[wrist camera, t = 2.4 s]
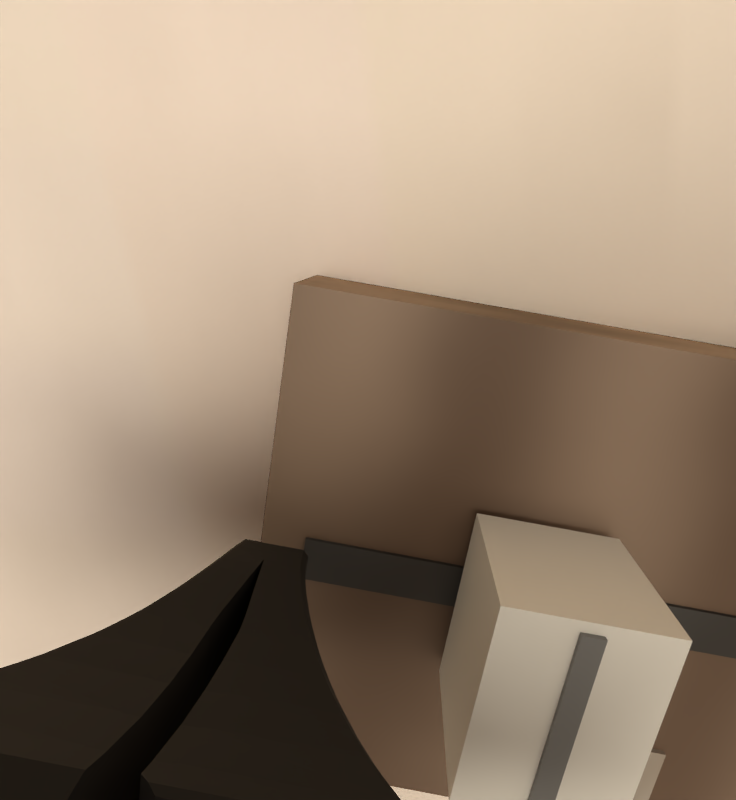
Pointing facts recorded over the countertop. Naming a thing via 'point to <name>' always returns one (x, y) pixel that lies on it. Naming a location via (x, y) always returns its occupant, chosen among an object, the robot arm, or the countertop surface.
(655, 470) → the fader console
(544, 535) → the fader tab
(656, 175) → the countertop surface
